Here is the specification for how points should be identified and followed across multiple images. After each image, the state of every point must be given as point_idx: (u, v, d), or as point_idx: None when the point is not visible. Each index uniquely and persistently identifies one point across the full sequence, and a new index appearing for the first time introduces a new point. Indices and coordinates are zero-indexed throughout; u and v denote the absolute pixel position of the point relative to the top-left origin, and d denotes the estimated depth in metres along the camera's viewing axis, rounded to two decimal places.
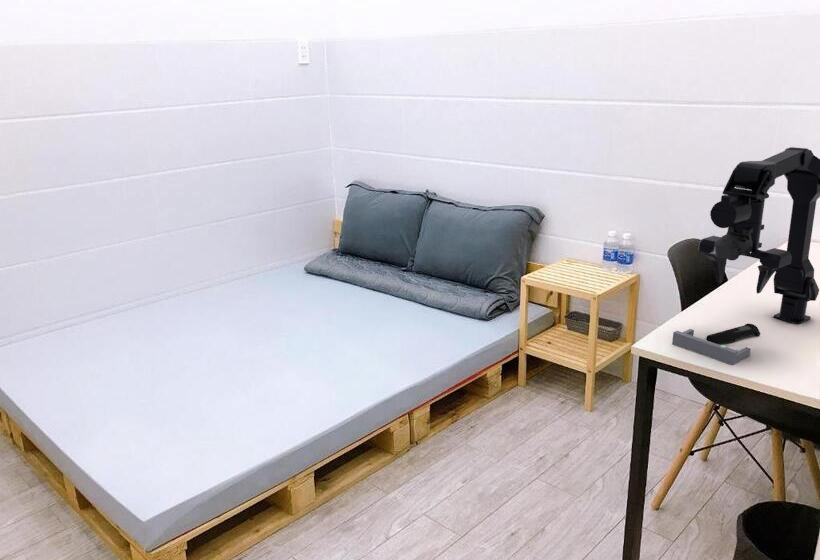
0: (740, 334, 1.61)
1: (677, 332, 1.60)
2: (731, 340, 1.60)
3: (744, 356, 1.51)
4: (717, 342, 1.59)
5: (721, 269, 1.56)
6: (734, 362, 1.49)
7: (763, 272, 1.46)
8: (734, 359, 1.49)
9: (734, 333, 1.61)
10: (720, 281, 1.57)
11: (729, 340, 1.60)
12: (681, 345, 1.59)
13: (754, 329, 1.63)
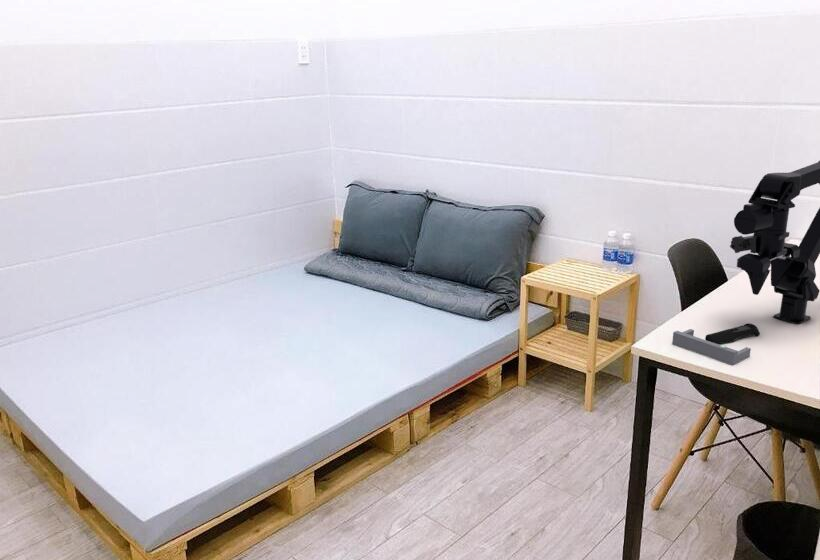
0: (739, 334, 1.61)
1: (677, 332, 1.60)
2: (730, 340, 1.60)
3: (744, 356, 1.51)
4: (716, 342, 1.59)
5: (775, 273, 1.67)
6: (734, 362, 1.49)
7: None
8: (734, 359, 1.49)
9: (733, 333, 1.61)
10: (773, 285, 1.67)
11: (728, 339, 1.60)
12: (681, 345, 1.59)
13: (754, 329, 1.63)
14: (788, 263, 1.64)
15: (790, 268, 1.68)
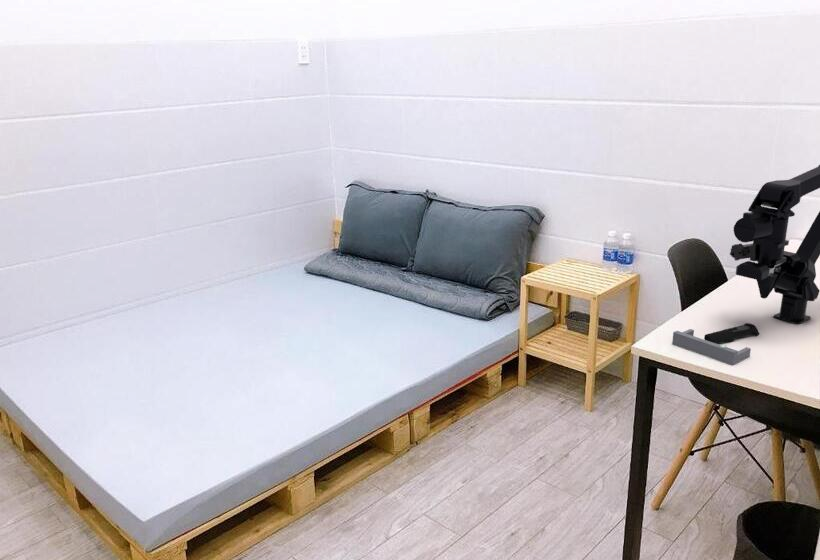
0: (738, 333, 1.61)
1: (677, 332, 1.60)
2: (729, 339, 1.60)
3: (744, 356, 1.51)
4: (715, 341, 1.59)
5: None
6: (734, 362, 1.49)
7: None
8: (734, 359, 1.49)
9: (732, 332, 1.61)
10: (763, 297, 1.66)
11: (728, 339, 1.60)
12: (681, 345, 1.59)
13: (753, 329, 1.63)
14: (779, 275, 1.63)
15: (790, 268, 1.68)
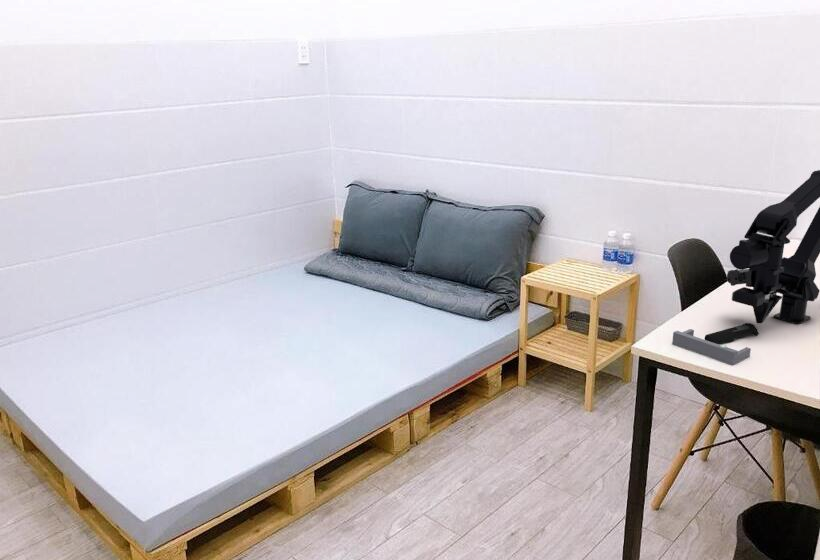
0: (738, 333, 1.61)
1: (677, 332, 1.60)
2: (729, 339, 1.60)
3: (744, 356, 1.51)
4: (715, 341, 1.59)
5: None
6: (734, 362, 1.49)
7: None
8: (734, 359, 1.49)
9: (732, 332, 1.61)
10: (759, 322, 1.68)
11: (728, 339, 1.60)
12: (681, 345, 1.59)
13: (752, 328, 1.63)
14: (774, 301, 1.65)
15: (790, 268, 1.68)
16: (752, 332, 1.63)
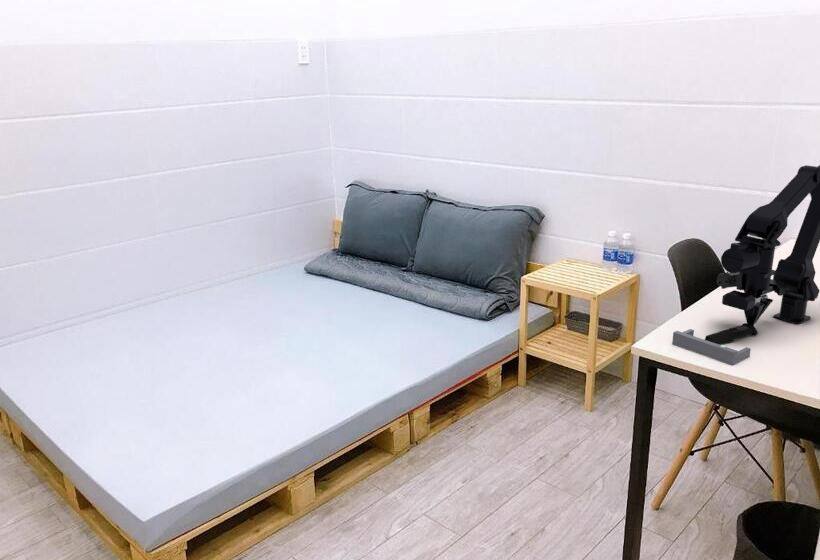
0: (738, 334, 1.61)
1: (677, 332, 1.60)
2: (729, 340, 1.60)
3: (744, 356, 1.51)
4: (716, 342, 1.59)
5: None
6: (734, 362, 1.49)
7: None
8: (734, 359, 1.49)
9: (732, 333, 1.61)
10: None
11: (728, 340, 1.60)
12: (681, 345, 1.59)
13: (752, 329, 1.63)
14: (765, 304, 1.62)
15: (788, 270, 1.67)
16: (751, 332, 1.63)
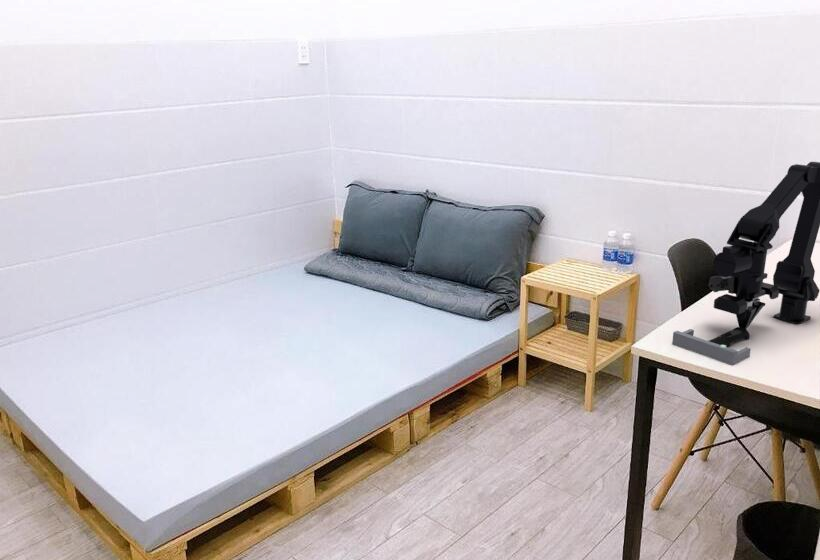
0: (733, 339, 1.59)
1: (677, 332, 1.60)
2: (726, 345, 1.57)
3: (744, 356, 1.51)
4: None
5: None
6: (734, 362, 1.49)
7: None
8: (734, 359, 1.49)
9: (728, 338, 1.58)
10: None
11: None
12: (681, 345, 1.59)
13: (745, 332, 1.61)
14: (757, 308, 1.60)
15: (787, 272, 1.67)
16: (744, 336, 1.61)
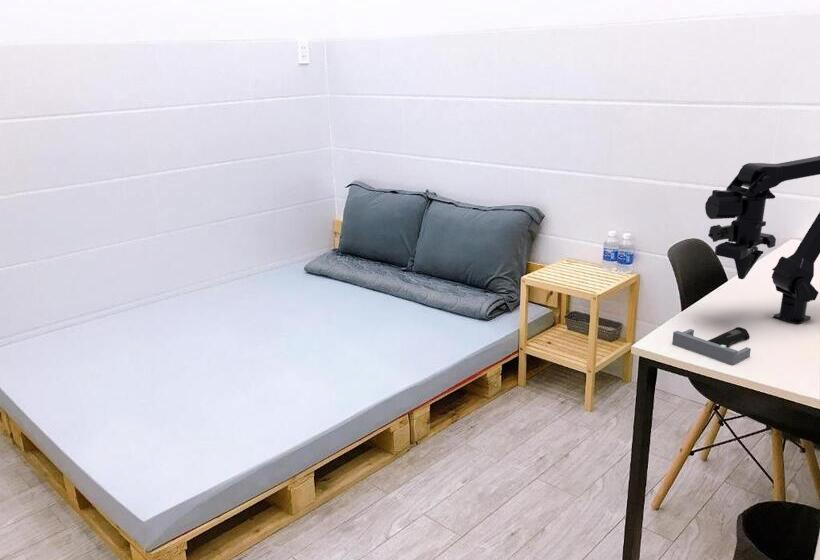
0: (733, 339, 1.59)
1: (677, 332, 1.60)
2: None
3: (744, 356, 1.51)
4: None
5: None
6: (734, 362, 1.49)
7: None
8: (734, 359, 1.49)
9: (727, 338, 1.58)
10: (741, 277, 1.68)
11: None
12: (681, 345, 1.59)
13: (744, 332, 1.61)
14: (756, 255, 1.65)
15: (785, 267, 1.69)
16: (744, 336, 1.61)
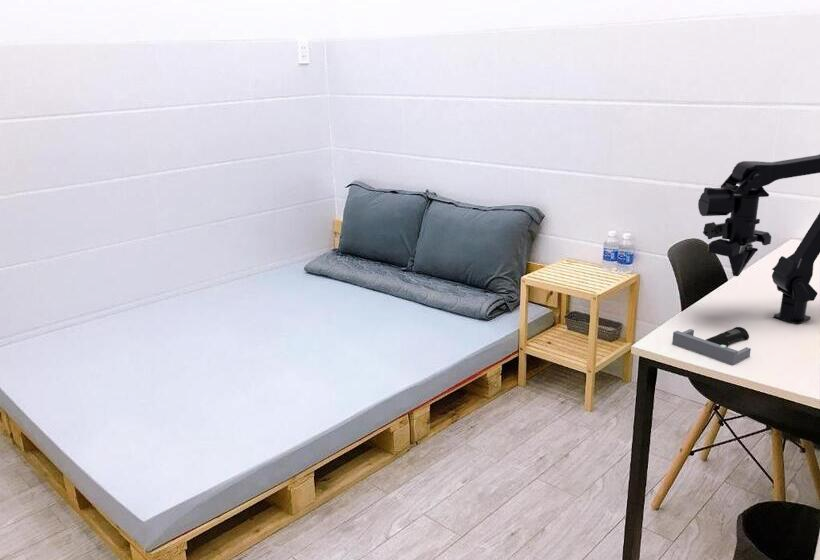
0: (731, 338, 1.59)
1: (677, 332, 1.60)
2: None
3: (744, 356, 1.51)
4: None
5: None
6: (734, 362, 1.49)
7: None
8: (734, 359, 1.49)
9: (726, 337, 1.58)
10: (736, 274, 1.70)
11: (722, 344, 1.57)
12: (681, 345, 1.59)
13: (744, 332, 1.61)
14: (750, 253, 1.66)
15: (783, 267, 1.69)
16: (743, 336, 1.61)
